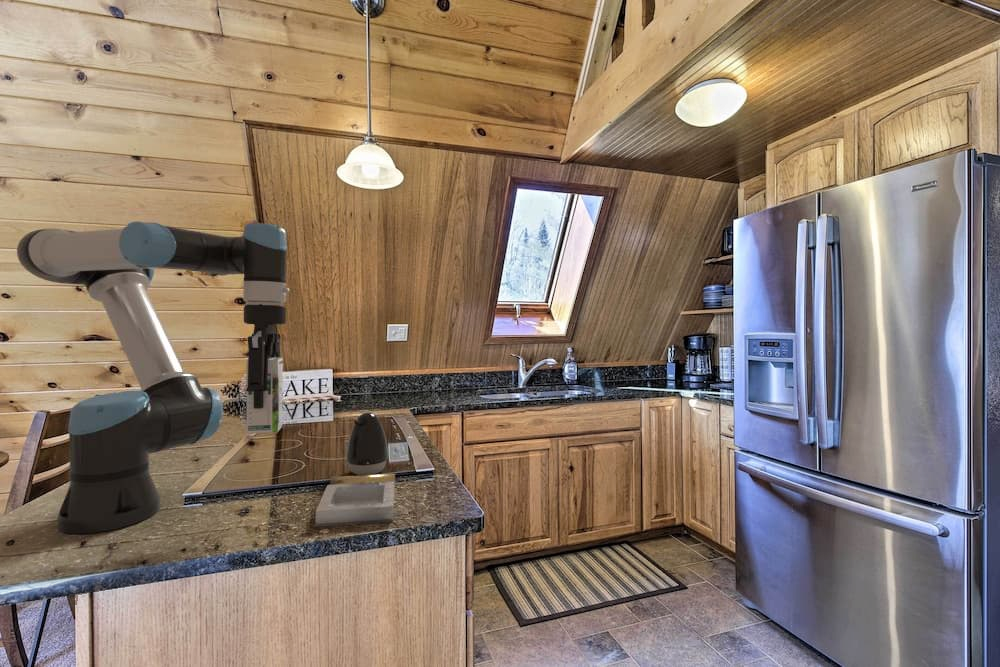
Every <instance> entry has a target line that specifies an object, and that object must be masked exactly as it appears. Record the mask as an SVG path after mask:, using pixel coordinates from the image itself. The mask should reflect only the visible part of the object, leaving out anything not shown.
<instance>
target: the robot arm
mask: <svg viewBox="0 0 1000 667" xmlns="http://www.w3.org/2000/svg"><path fill="white" fill-rule="evenodd" d="M243 227H244V228H243V233H242V236H223V235H219V234H212V233H206V232H201V231H195V230H189V229H184V228H180V227H179V228H178V227H174V226H168V225H163V224H160V223H158V222H150V221H149V222H144V221H132V222H129V223H128V224H127V226H125V227H123V228H115V229H114V228H113V229H99V230H88V231H73V230H68V229H67V230H66V229H61V228H43V229H41V228H39V229H36V230H33V231H32V230H31V231H30V232H28V233H26V234H25V235H24V236H23V237H22V238H21V239H20V240H19V242H18V244H17V247H16V255H17V260H18V261H19V263H20V264H21V266H22V267H23V268H24V269H25V270H26V271H28V272H29V273H30V274H32V275H33V276H35V277H36V278H39V279H41V280H44V281H47V282H52V283H58V284H64V285H65V284H68V285H80V286H81V285H82V286H84V287H85V288H86V291H87V293H88V295H89V297H90V298H92V299H93V300H94V301H97V302H101V303H102V306H103V308H104V310H105V312H106V314H107V316H108V318H109V321H110V323H111V325H112V328H113V329H114V332H115V334H116V336H117V339H118V340H119V342H120V345H121V347H122V350H123V351H124V354H125V356H126V359H127V360H128V362H129V365H130V366H131V367H130V368H131V369H132V371H133V373H134V375H135V378H136V380H137V382H138V385H139V386H140V390H125V391H119V392H110V393H105V394H100V395H95V396H93V397H88V398H86V399H83V400H80V401H79V402H78V403H76V404H75V405H74V406H72V408H71V410H70V413H69V419H68V420H69V422H68V427H67V431H68V436H69V438H68V439H69V440H68V441H69V474H70V476H69V477H70V478H69V480H70V482H69V486H68V489H67V492H66V494H65V496H64V499H63V502H62V504H61V507H60V509H59V512H58V514H57V515H58V516H57V529H58V530H59V531H60V532H62V533H66V534H74V535H77V534H78V535H81V534H82V535H83V534H95V533H102V532H108V531H112V530H117V529H121V528H125V527H127V526H131V525H132V526H133V525H135V524H137V523H140V522H143V521H144V520H147V519H149V518H150V517H151V518H152V516H154V515H155V514H157V513H158V512H159V510H161V500H160V499H161V498H160V494H159V492H158V490H157V487H156V485H155V483H154V480H153V478H152V475H151V473H150V467H149V465H150V463H149V462H150V461H149V455H151V454H154V453H158V452H159V453H160V452H163V451H167V450H170V449H175V448H179V447H182V446H187V445H194V444H196V443H198V442H202V441H204V440H208V439H209V438H211V437H213V435H215V433H216V432H217V431H218V430H219V428H220V426H221V423H222V420H223V415H224V408H223V407H224V406H223V402H222V398H221V397H220V394H219V393H218V392H217V391H216V390H215V389H212V388H210V387H202V386H201V384H200V382H199V380H198V377H197V375H193V374H190V373H187V372H186V370H185V369H184V366H183V365H182V363H181V361H180V358H179V356H178V354H177V352H176V350H175V348H174V346H173V343H172V342H171V339H170V337H169V336H168V333H167V332H166V329H165V327H164V325H163V323H162V321H161V319H160V317H159V314H158V312H157V310H156V308H155V307H154V304H153V302H152V300H151V297H150V296H149V294H148V291H147V290H148V289H149V287H150V286H151V282H152V280H153V278H154V274H155V270H156V269H169V270H180V271H181V270H182V271H190V272H200V273H205V274H208V275H213V276H228V275H243V300H242V301H243V302H245V303H246V304H245V305H244V306H243V323H244V324H246V325H253V326H254V327H253V333H252V334H251V335H249V336H248V337H247V347H248V357H247V360H248V386H247V385H246V386H247V387H248V388H247V387H245V388H246V392H247V391H252V425H267V424H268V391H266V389H267V387H266V386H267V374H268V360H269V358H281V355H280V354H281V352H280V349H281V348H280V345H281V334H280V333H277V330H276V329H277V328H276V325H285V324H286V323H287V307H286V306H285V305H283V304H284V303H286V302H287V294H288V293H289V292H290V288H288V287H286V286H287V256H288V254H287V251H288V245H287V234H286V231H285V229H284V228H283V227H281V225H280V226H279V225H277V224H276V225H275V224H270V223H263V222H261V223H260V222H252V223H247V224H245V225H244V226H243ZM154 269H155V270H154Z"/></svg>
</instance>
